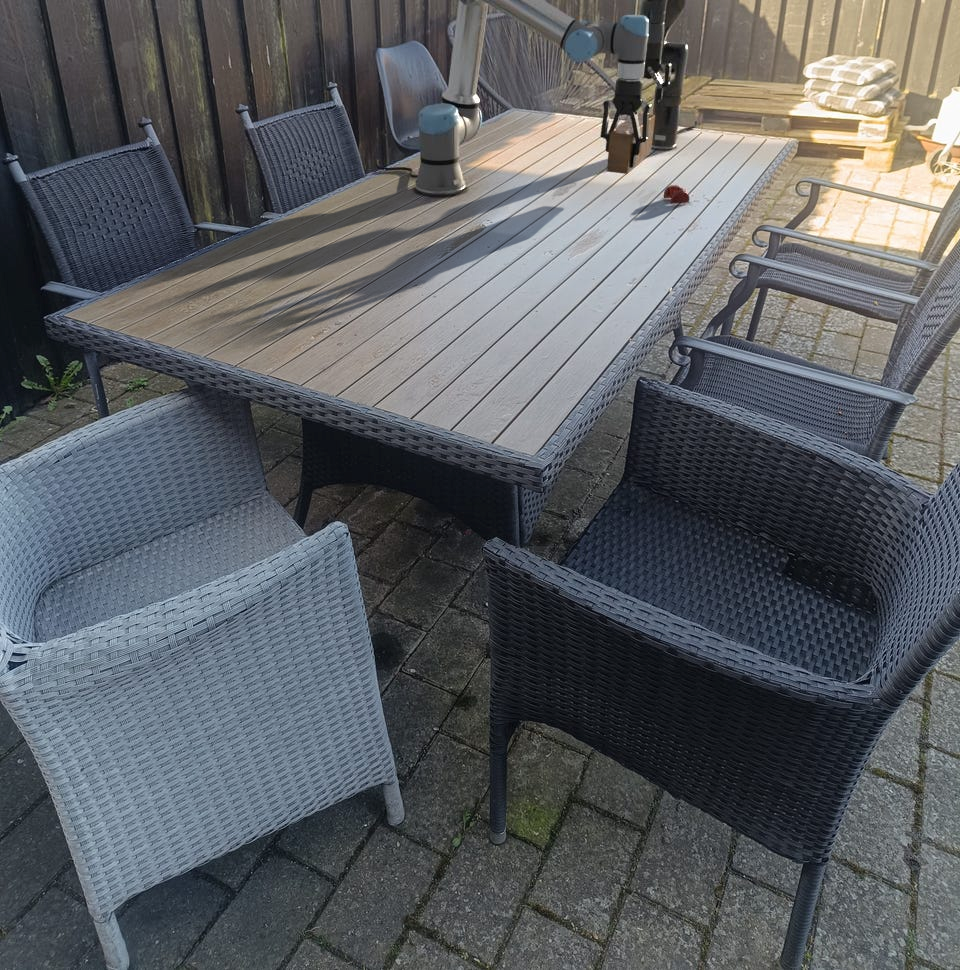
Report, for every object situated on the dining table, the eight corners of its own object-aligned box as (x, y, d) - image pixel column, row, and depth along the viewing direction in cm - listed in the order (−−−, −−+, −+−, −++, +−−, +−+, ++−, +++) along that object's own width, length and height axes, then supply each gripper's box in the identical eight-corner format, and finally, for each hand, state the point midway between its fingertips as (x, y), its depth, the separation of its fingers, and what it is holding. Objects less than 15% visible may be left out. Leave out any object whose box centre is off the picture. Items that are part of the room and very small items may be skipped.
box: (627, 174, 243) (631, 134, 237) (606, 171, 245) (610, 132, 239) (650, 151, 264) (655, 114, 257) (631, 149, 266) (635, 112, 259)
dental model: (680, 181, 250) (692, 189, 244) (678, 195, 253) (690, 203, 247) (662, 183, 249) (674, 191, 243) (661, 197, 252) (672, 206, 246)
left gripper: (667, 79, 233) (656, 165, 247) (600, 73, 239) (594, 158, 253) (660, 84, 227) (650, 171, 241) (592, 78, 234) (586, 164, 247)
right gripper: (677, 39, 243) (670, 100, 253) (629, 36, 248) (624, 96, 258) (671, 43, 238) (664, 105, 247) (622, 40, 243) (617, 100, 252)
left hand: (621, 164), depth 247 cm, fingers closed on box, 6 cm apart
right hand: (643, 100), depth 252 cm, fingers open, 8 cm apart
